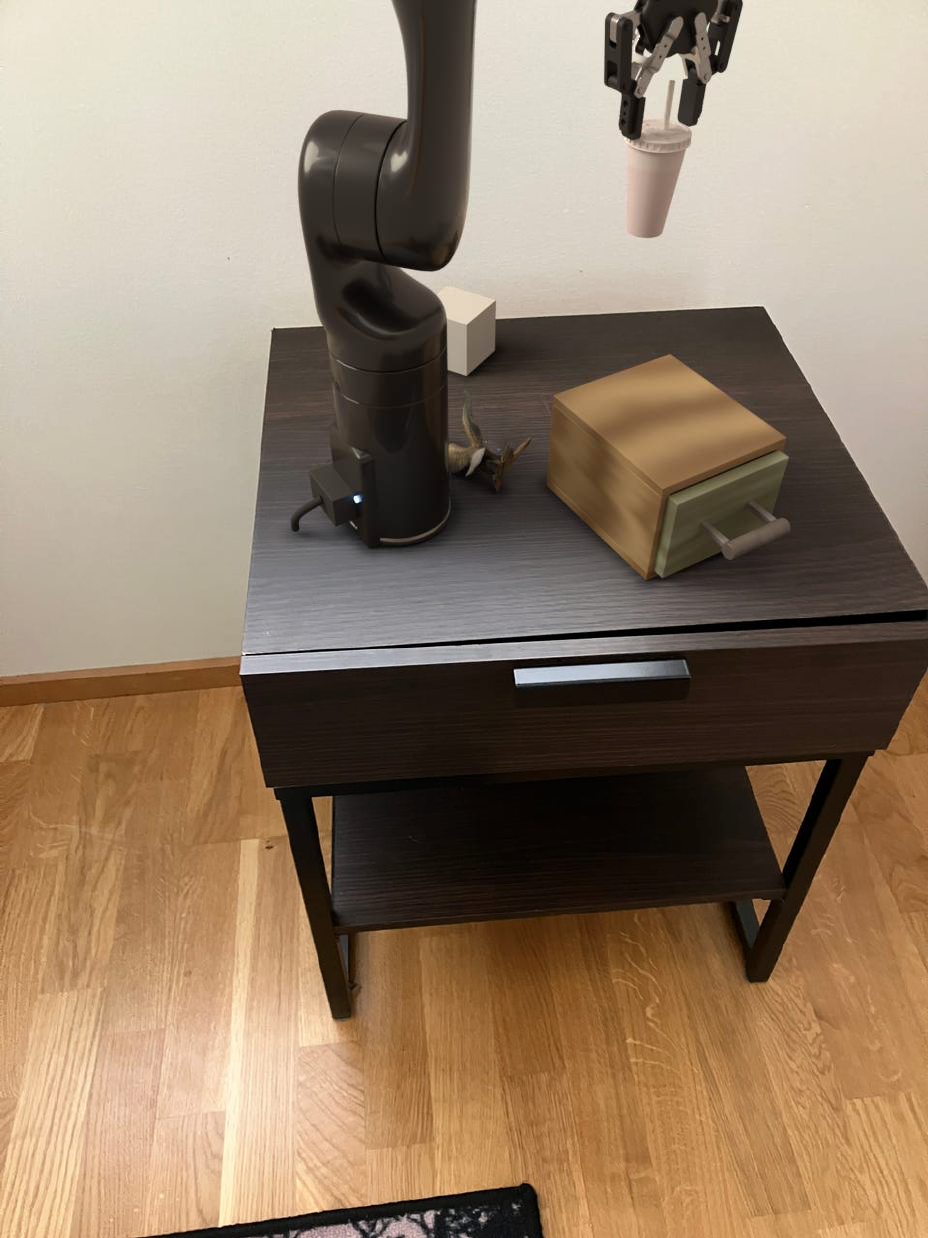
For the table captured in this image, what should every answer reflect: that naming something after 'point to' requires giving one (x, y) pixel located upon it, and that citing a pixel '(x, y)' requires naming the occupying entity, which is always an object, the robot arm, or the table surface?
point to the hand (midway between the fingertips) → (658, 129)
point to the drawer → (723, 515)
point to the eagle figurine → (480, 450)
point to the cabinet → (645, 449)
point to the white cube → (468, 328)
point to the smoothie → (654, 171)
